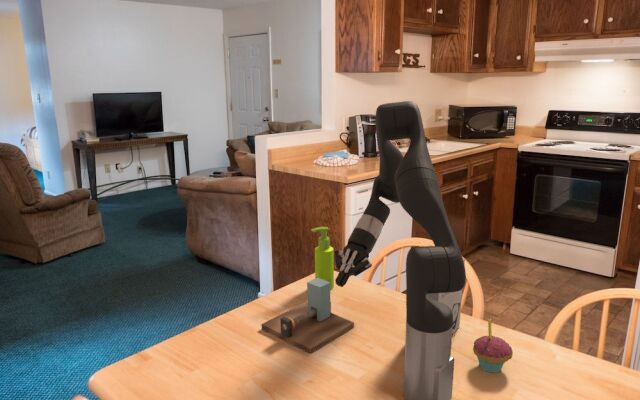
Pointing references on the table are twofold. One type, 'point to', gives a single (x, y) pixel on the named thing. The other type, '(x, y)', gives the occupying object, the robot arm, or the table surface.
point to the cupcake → (492, 351)
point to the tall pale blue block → (319, 298)
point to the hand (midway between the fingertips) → (338, 285)
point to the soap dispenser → (324, 257)
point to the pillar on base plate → (307, 328)
